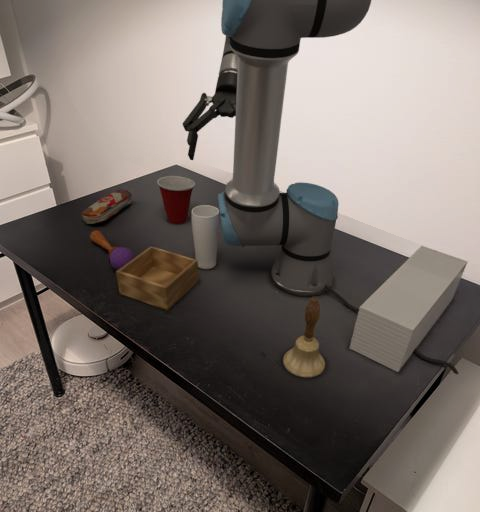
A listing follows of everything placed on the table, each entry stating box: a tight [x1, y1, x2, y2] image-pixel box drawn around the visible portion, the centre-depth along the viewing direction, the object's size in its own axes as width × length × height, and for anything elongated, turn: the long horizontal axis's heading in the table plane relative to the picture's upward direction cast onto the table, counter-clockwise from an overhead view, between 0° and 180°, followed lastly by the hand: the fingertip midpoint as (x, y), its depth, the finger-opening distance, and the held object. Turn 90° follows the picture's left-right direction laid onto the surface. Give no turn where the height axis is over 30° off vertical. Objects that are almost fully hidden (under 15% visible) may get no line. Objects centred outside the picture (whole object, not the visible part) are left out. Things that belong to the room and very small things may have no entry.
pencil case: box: [80, 188, 133, 225], centre depth 136 cm, size 11×20×5 cm, turn 145°
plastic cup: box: [156, 175, 196, 225], centre depth 133 cm, size 11×11×12 cm
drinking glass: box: [190, 204, 221, 270], centre depth 112 cm, size 7×7×15 cm
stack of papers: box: [349, 245, 468, 373], centre depth 98 cm, size 32×11×11 cm, turn 142°
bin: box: [115, 245, 199, 311], centre depth 106 cm, size 13×13×6 cm
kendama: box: [89, 230, 135, 271], centre depth 117 cm, size 6×6×20 cm
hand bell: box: [282, 296, 326, 379], centre depth 85 cm, size 8×8×16 cm
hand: (217, 160), depth 111 cm, fingers open, 13 cm apart
